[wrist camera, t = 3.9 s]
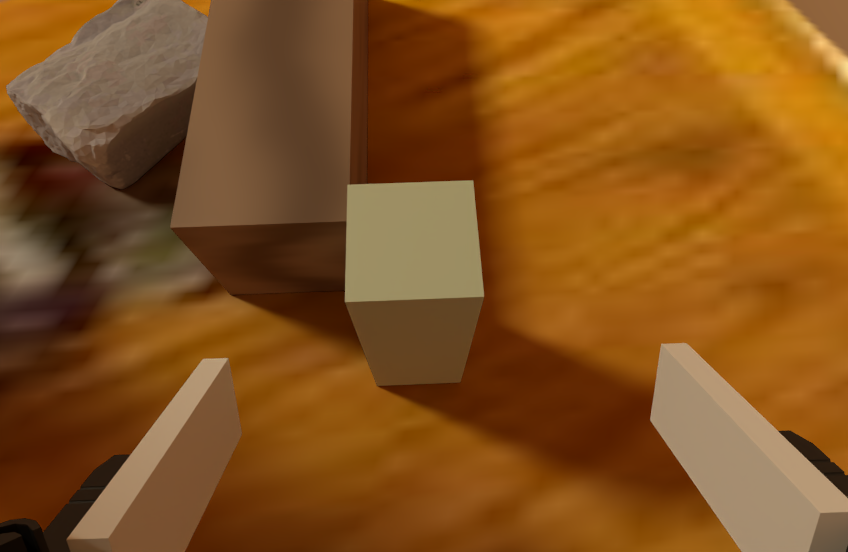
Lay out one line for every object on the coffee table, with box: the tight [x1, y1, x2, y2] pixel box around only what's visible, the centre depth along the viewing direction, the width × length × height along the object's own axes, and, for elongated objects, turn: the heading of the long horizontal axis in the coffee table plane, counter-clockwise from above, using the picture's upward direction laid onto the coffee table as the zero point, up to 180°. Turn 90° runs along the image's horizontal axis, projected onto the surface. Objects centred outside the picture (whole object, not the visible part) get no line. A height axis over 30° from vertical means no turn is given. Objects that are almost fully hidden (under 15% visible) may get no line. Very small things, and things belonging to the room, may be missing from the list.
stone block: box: [6, 0, 208, 189], centre depth 31 cm, size 12×5×10 cm
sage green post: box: [345, 180, 484, 386], centre depth 21 cm, size 4×4×11 cm
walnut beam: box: [170, 0, 368, 295], centre depth 28 cm, size 7×22×7 cm, turn 2°
